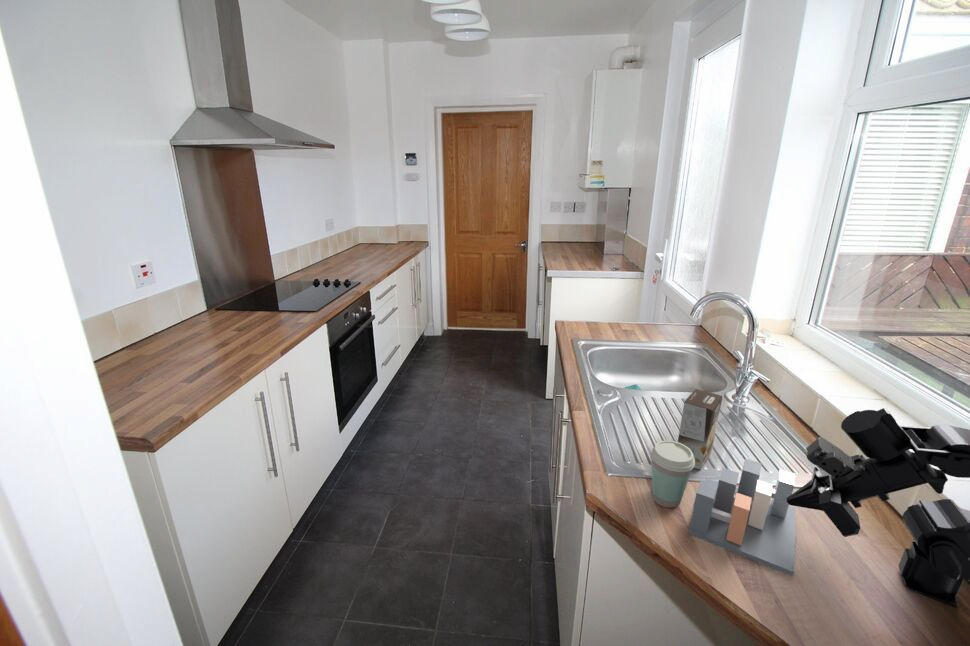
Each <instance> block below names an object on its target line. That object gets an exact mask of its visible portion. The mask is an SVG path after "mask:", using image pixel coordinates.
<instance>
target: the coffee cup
mask: <svg viewBox="0 0 970 646" xmlns="http://www.w3.org/2000/svg"><path fill="white" fill-rule="evenodd" d="M650 457H651V497H652V499H653V500H654V502H656V503H657V504H658V505H660V506H661V507H665V508H676V507H679V506H680V505H681V502H682V499H683V497H684V494H685V491H686V488H687V485H688V481H689V479H690V476H691V473H692V470H693V469H694V466H695V459H694V456H693V452H692V451H691V450H690V449H689V448H688V447H687V446H685V445H683V444H681V443H678V441H676V440H675V441H674V440H661V441H660V440H659V441H658V442H656V444H655V445H654V446H653V448H652V449H651V452H650Z"/></svg>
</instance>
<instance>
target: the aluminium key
mask: <svg viewBox="0 0 970 646" xmlns="http://www.w3.org/2000/svg"><path fill="white" fill-rule="evenodd" d="M795 477H796V475H795V473H792V472H788V471H786V470H781V469H779V472H778V476H777V480H776V483H775V487H774V489H773V488H772V494H771V500H772V503H771V514H774V515H777V516H779V517H782V518H785V517H786V514H787V510H788V507H789V506H790V505H789V504H788V502H787V497H789V496H790V495H792V494H793V493H794V492H793V491H794V488H795Z"/></svg>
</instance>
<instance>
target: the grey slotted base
mask: <svg viewBox="0 0 970 646" xmlns="http://www.w3.org/2000/svg"><path fill="white" fill-rule="evenodd" d="M742 466H743V467H742V471H741V475H740V479H739V474H740V472H738V471H735V470H733V469H732V470H731V469H729V468H725V467H721V472H720V475H719V480H718V481H715V480H713V479H711V478H707V477H705V479H704V480H703V479H700V481H699V484H698V485H697V486H698V487H697V489H696V492H695V499H694V504H693V508H692V514H691V519H690V520H691V521H690V525H689V530H688V535H689V534H690V536H692V537H694V538H697V539H699V540H702V541H704V542H707V543H709V544H712V545H714V546H717V547H719V548H722V549H723V550H726V551H729V552H731V553H734V554H737V555H739V556H741V557H744V558H746V559H749V560H752V562H756V563H759V564H760V565H764V566H766V567H767V568H768V567H769V568H770V569H773V570H776V571H778V572H780V573H783V574H786V575H788V576H790V577H794V574H795V557H796V555H795V552H796V551H795V549H796V518H797V517H796V512H797V508H795V506H791V505H789V507H788V510H787V514H786V517H785V518H782V517H779V516H777V515H774V514H771V503H772V499H770V503H769V507H768V511H767V515H766V519H765V523H764V527H763V530H761V529H758V528H755V527H753V526H750V525H748V520H749V515H748V519H747V524H746V528H745V532H744V536H743V540H742V544H741V545H738V544H736V543H733V542H731V541H728V540H726V538H727V533H728V528H729V524H730V523H727V522H724V521H722V520H719V519H716V518H714V517H711V512H712V508H715V509H718V510H721V511H723V512H726V513H729V514H732V510H733V506H734V503H733V498H734V494H735V495H736V493H739V494H742V495H745V496H748V497H751V498H752V499H751V500H752V501H753V497H754V493H755V488H756V484H757V480H760V477H761V468H762V462H758V461H755V460H753V459H748V458H744V460H743V465H742ZM738 480H739V484H738ZM737 484H738V488H737ZM749 514H750V511H749Z"/></svg>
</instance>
